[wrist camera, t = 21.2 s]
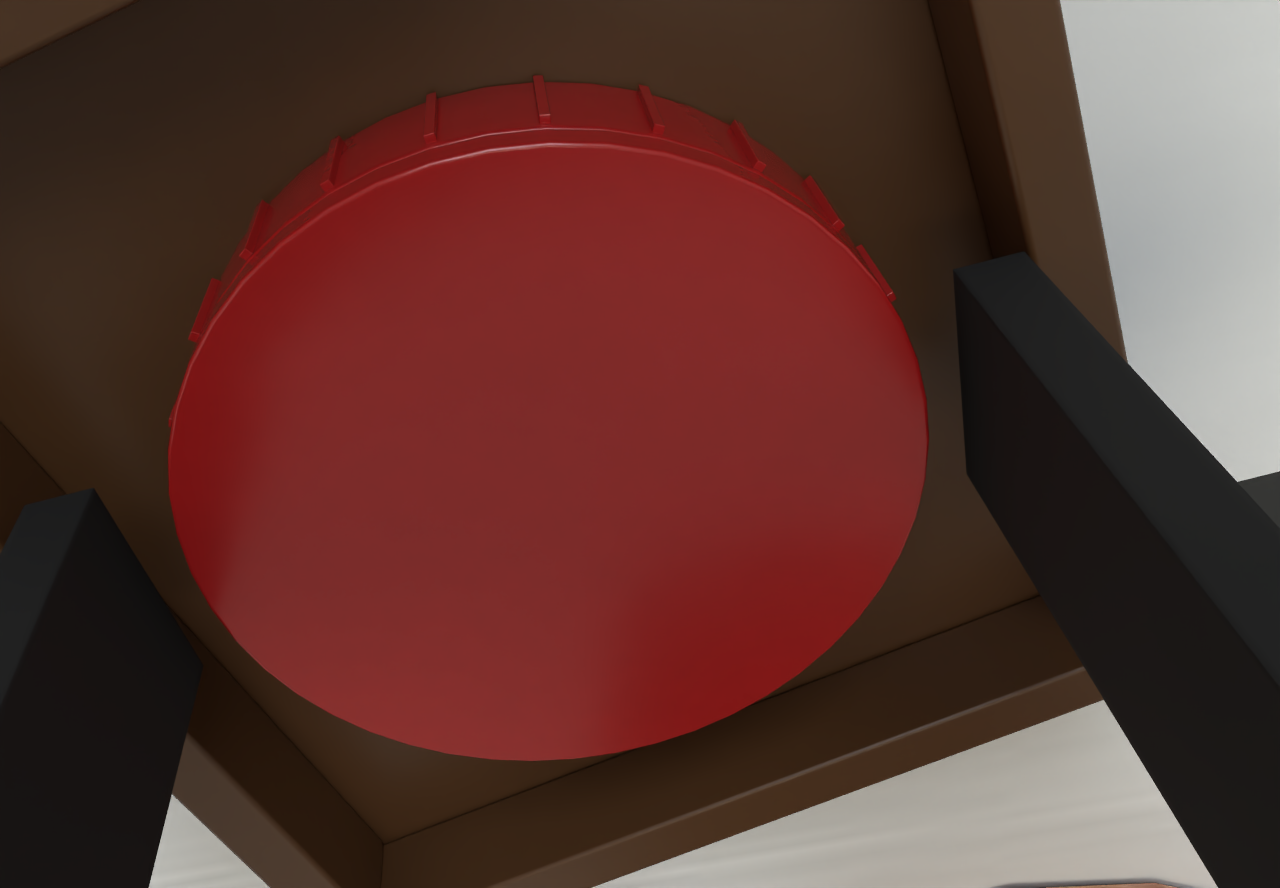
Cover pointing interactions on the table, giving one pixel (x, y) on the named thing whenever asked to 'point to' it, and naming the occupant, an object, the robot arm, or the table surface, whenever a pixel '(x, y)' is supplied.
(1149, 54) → the table surface
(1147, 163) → the table surface
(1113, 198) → the table surface
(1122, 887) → the mug
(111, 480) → the tray
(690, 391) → the lid
